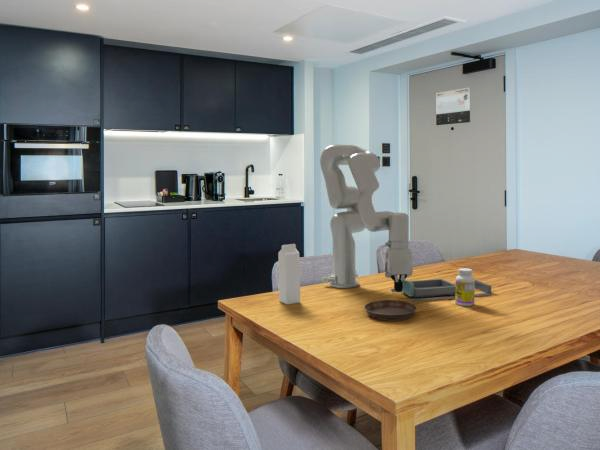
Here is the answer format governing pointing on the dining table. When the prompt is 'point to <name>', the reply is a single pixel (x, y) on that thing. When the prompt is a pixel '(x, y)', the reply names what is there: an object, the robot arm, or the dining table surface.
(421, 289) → the drawer
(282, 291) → the milk
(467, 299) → the supplement bottle
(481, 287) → the rails
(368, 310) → the plant saucer
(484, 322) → the dining table surface
